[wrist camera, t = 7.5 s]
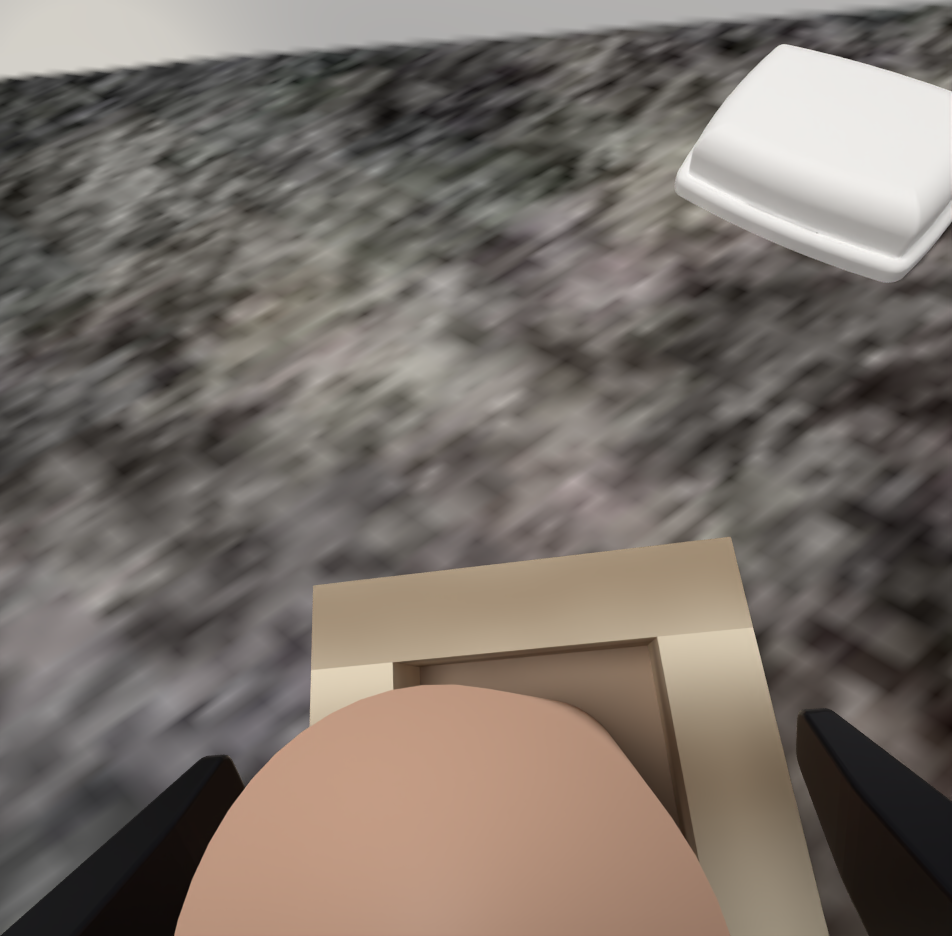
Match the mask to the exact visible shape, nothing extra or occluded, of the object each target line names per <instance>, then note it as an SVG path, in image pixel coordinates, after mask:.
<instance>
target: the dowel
mask: <svg viewBox="0 0 952 936" xmlns="http://www.w3.org/2000/svg"><path fill="white" fill-rule="evenodd" d="M174 936H731V935H730V933H729V930H728V927H727V925H726V922H725V919H724V916H723V914H722V911H721V908H720V905H719V903H718V900H717V898H716V896H715V894H714V892H713V890H712V888H711V886H710V884H709V881H708V879H707V877H706V875H705V873H704V871H703V869H702V867H701V865H700V863H699V861H698V859H697V857H696V855H695V854H694V852H693V850H692V849H691V847H690V846H689V844H688V843H687V841H686V839H685V838H684V836H683V835H682V833H681V831H680V830H679V828H678V827H677V825H676V824H675V822H674V820H673V819H672V817H671V816H670V814H669V813H668V812H667V810H666V809H665V808H664V806H663V805H662V804H661V802H660V801H659V800H658V798H657V797H656V796H655V794H654V793H653V792H652V790H651V789H650V788H649V786H648V785H647V784H646V782H645V781H644V780H643V778H642V777H641V776H640V774H639V773H638V772H637V770H636V769H635V767H634V766H633V765H632V763H631V762H630V761H629V759H628V758H627V757H626V755H625V754H624V753H623V751H622V750H621V749H620V747H619V746H618V745H617V743H616V742H615V741H614V739H613V738H612V737H611V735H610V734H609V733H608V732H607V730H606V729H605V728H604V727H603V726H602V725H601V724H600V723H599V722H598V721H597V720H596V719H594V718H593V717H592V716H590V715H589V714H588V713H586V712H584V711H583V710H581V709H579V708H577V707H575V706H572V705H570V704H567V703H564V702H560V701H555V700H550V699H544V698H538V697H533V696H527V695H521V694H515V693H510V692H504V691H498V690H493V689H487V688H479V687H471V686H463V685H455V684H454V685H420V686H414V687H407V688H401V689H395V690H390V691H387V692H383V693H380V694H377V695H374V696H371V697H367V698H364V699H361V700H358V701H356V702H354V703H352V704H350V705H348V706H346V707H344V708H341V709H339V710H337V711H335V712H333V713H331V714H329V715H328V716H326V717H324V718H323V719H321V720H320V721H318V722H317V723H315V724H314V725H312V726H310V727H309V728H307V729H306V730H304V731H303V732H301V733H300V734H299V735H298V736H297V737H295V738H294V739H293V740H292V741H291V742H289V743H288V744H287V745H286V746H285V747H283V748H282V749H281V750H280V751H279V752H277V753H276V754H275V755H274V756H273V757H272V758H271V759H270V761H269V762H268V763H267V764H266V765H265V766H264V767H263V768H262V769H261V770H260V771H259V772H258V773H257V774H256V775H255V776H254V777H253V779H252V780H251V781H250V782H249V784H248V785H247V786H246V788H245V789H244V790H243V792H242V793H241V794H240V796H239V797H238V798H237V800H236V801H235V802H234V804H233V805H232V806H231V808H230V809H229V810H228V812H227V814H226V815H225V817H224V819H223V820H222V822H221V824H220V826H219V827H218V829H217V831H216V832H215V834H214V836H213V837H212V839H211V841H210V842H209V844H208V847H207V849H206V851H205V853H204V855H203V857H202V859H201V862H200V864H199V866H198V868H197V870H196V872H195V874H194V877H193V879H192V881H191V884H190V887H189V890H188V893H187V896H186V899H185V901H184V904H183V907H182V910H181V913H180V916H179V919H178V922H177V926H176V930H175V934H174Z"/></svg>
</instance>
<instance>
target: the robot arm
mask: <svg viewBox="0 0 952 936" xmlns="http://www.w3.org/2000/svg"><path fill="white" fill-rule="evenodd" d="M796 754H797V760H798V764H799V767H800V770H801V772H802V775H803V778H804V780H805V783H806V786H807V788H808V791H809V794H810V796H811V799H812V802H813V805H814V807H815V810H816V813H817V815H818V818H819V821H820V823H821V826H822V829H823V831H824V834H825V837H826V839H827V842H828V845H829V847H830V850H831V853H832V855H833V858H834V861H835V863H836V866H837V868H838V871H839V873H840V876H841V878H842V881H843V883H844V885H845V887H846V889H847V892H848V894H849V896H850V898H851V900H852V902H853V904H854V906H855V908H856V910H857V912H858V914H859V916H860V919H861V921H862V923H863V925H864V927H865V929H866V931H867V933H868V935H869V936H952V801H951V800H949V799H948V798H947V797H945V796H944V795H943V794H941V793H940V792H939V791H937V790H936V789H935V788H933V787H932V786H931V785H930V784H928V783H927V782H926V781H924V780H923V779H922V778H920V777H919V776H918V775H916V774H915V773H914V772H912V771H911V770H910V769H909V768H907V767H906V766H905V765H903V764H902V763H901V762H899V761H898V760H897V759H895V758H894V757H893V756H891V755H890V754H889V753H888V752H886V751H885V750H884V749H882V748H881V747H880V746H878V745H877V744H876V743H874V742H873V741H872V740H870V739H869V738H868V737H867V736H865V735H864V734H863V733H861V732H860V731H859V730H857V729H856V728H855V727H853V726H852V725H851V724H849V723H848V722H847V721H846V720H844V719H843V718H842V717H840V716H839V715H838V714H836V713H835V712H834V711H832V710H830V709H826V708H821V709H808V710H802V711H800V712H799V714H798V717H797V739H796ZM244 789H245V786H244V784H243V782H242V780H241V778H240V775H239V773H238V771H237V769H236V767H235V765H234V763H233V761H232V759H231V758H230V757H229V756H228V755H213V756H206V757H203V758H201V759H200V760H199V761H198V762H196V763H195V764H194V765H193V766H192V767H191V768H190V769H188V770H187V771H186V772H185V773H184V774H183V775H182V776H181V777H179V778H178V779H177V780H176V781H175V782H174V783H173V784H171V785H170V786H169V787H168V788H167V789H166V790H165V791H164V792H162V793H161V794H160V795H159V796H158V797H157V798H156V799H155V800H153V801H152V802H151V803H150V804H149V805H148V806H147V807H145V808H144V809H143V810H142V811H141V812H140V813H139V814H138V815H136V816H135V817H134V818H133V819H132V820H131V821H130V822H129V823H127V824H126V825H125V826H124V827H123V828H122V829H121V830H119V831H118V832H117V833H116V834H115V835H114V836H113V837H112V838H110V839H109V840H108V841H107V842H106V843H105V844H104V845H103V846H101V847H100V848H99V849H98V850H97V851H96V852H95V853H93V854H92V855H91V856H90V857H89V858H88V859H87V860H86V861H84V862H83V863H82V864H81V865H80V866H79V867H78V868H76V869H75V870H74V871H73V872H72V873H71V874H70V875H69V876H67V877H66V878H65V879H64V880H63V881H62V882H61V883H60V884H58V885H57V886H56V887H55V888H54V889H53V890H52V891H50V892H49V893H48V894H47V895H46V896H45V897H44V898H43V899H41V900H40V901H39V902H38V903H37V904H36V905H35V906H33V907H32V908H31V909H30V910H29V911H28V912H27V913H26V914H24V915H23V916H22V917H21V918H20V919H19V920H18V921H16V922H15V923H14V924H13V925H12V926H11V927H10V928H9V929H7V930H6V931H5V932H4V933H3V934H2V935H1V936H174V934H175V930H176V926H177V922H178V919H179V916H180V913H181V910H182V907H183V904H184V901H185V899H186V896H187V893H188V890H189V887H190V884H191V881H192V879H193V877H194V874H195V872H196V870H197V868H198V866H199V864H200V862H201V859H202V857H203V855H204V853H205V851H206V849H207V847H208V844H209V842H210V841H211V839H212V837H213V836H214V834H215V832H216V831H217V829H218V827H219V826H220V824H221V822H222V820H223V819H224V817H225V815H226V814H227V812H228V810H229V809H230V808H231V806H232V805H233V804H234V802H235V801H236V800H237V798H238V797H239V796H240V794H241V793H242V792H243V790H244Z"/></svg>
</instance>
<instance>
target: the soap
mask: <svg viewBox="0 0 952 936" xmlns="http://www.w3.org/2000/svg"><path fill="white" fill-rule="evenodd" d="M675 191H676V193H677V194H678V195H679V196H681V197H683V198H684V199H686V200H688V201H690V202H692V203H694V204H695V205H697V206H699V207H701V208H703V209H704V210H706V211H708V212H710V213H712V214H714V215H716V216H718V217H720V218H722V219H724V220H726V221H728V222H730V223H732V224H734V225H736V226H738V227H741V228H743V229H745V230H747V231H749V232H751V233H753V234H755V235H758V236H760V237H762V238H765V239H767V240H769V241H772V242H774V243H776V244H779V245H781V246H783V247H786V248H788V249H791V250H793V251H796V252H798V253H801V254H803V255H806V256H808V257H811V258H813V259H816V260H819V261H822V262H824V263H827V264H830V265H833V266H835V267H838V268H841V269H844V270H846V271H849V272H853V273H856V274H859V275H862V276H865V277H868V278H871V279H874V280H877V281H880V282H884V283H891V282H896V281H898V280H900V279H902V278H903V277H904V276H905V275H906V274H907V273H908V272H909V271H910V270H911V269H912V268H913V267H914V266H915V265H916V264H917V263H918V262H919V261H920V260H921V259H922V258H923V257H924V255H925V254H926V253H927V252H928V251H929V250H930V249H931V248H932V246H933V245H934V244H935V243H936V241H937V240H938V239H939V238H940V236H941V235H942V234H943V232H944V231H945V230H946V228H947V227H948V226H949V225H950V223H951V222H952V92H951V91H949V90H946V89H943V88H940V87H937V86H935V85H932V84H929V83H926V82H923V81H919V80H916V79H913V78H910V77H907V76H904V75H901V74H898V73H894V72H891V71H888V70H884V69H881V68H878V67H874V66H871V65H867V64H864V63H860V62H856V61H853V60H849V59H845V58H842V57H838V56H834V55H830V54H826V53H821V52H817V51H813V50H809V49H805V48H800V47H796V46H791V45H786V44H782V45H779V46H778V47H776V48H775V49H774V50H773V51H772V52H771V53H770V54H769V55H767V56H766V57H765V58H764V59H763V60H762V61H761V62H760V63H759V64H758V65H757V66H756V67H755V68H754V69H753V70H752V71H751V72H750V73H749V74H748V75H747V76H746V77H745V78H744V79H743V80H742V81H741V82H740V84H739V85H738V86H737V87H736V88H735V89H734V91H733V92H732V93H731V94H730V95H729V96H728V98H727V99H726V100H725V101H724V103H723V104H722V105H721V107H720V108H719V109H718V111H717V112H716V113H715V115H714V116H713V118H712V119H711V121H710V122H709V123H708V125H707V126H706V128H705V130H704V131H703V133H702V134H701V136H700V138H699V139H698V141H697V142H696V144H695V145H694V147H693V148H692V150H691V151H690V153H689V154H688V156H687V157H686V159H685V161H684V162H683V164H682V166H681V167H680V169H679V171H678V173H677V176H676V181H675Z"/></svg>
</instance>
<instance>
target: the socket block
mask: <svg viewBox="0 0 952 936" xmlns="http://www.w3.org/2000/svg"><path fill="white" fill-rule="evenodd" d="M454 684H455V685H463V686H471V687H479V688H487V689H493V690H498V691H504V692H510V693H515V694H521V695H527V696H533V697H538V698H544V699H550V700H555V701H560V702H564V703H567V704H570V705H572V706H575V707H577V708H579V709H581V710H583V711H584V712H586V713H588V714H589V715H590V716H592V717H593V718H594V719H596V720H597V721H598V722H599V723H600V724H601V725H602V726H603V727H604V728H605V729H606V730H607V732H608V733H609V734H610V735H611V737H612V738H613V739H614V741H615V742H616V743H617V745H618V746H619V747H620V749H621V750H622V751H623V753H624V754H625V755H626V757H627V758H628V759H629V761H630V762H631V763H632V765H633V766H634V767H635V769H636V770H637V772H638V773H639V774H640V776H641V777H642V778H643V780H644V781H645V782H646V784H647V785H648V786H649V788H650V789H651V790H652V792H653V793H654V794H655V796H656V797H657V798H658V800H659V801H660V802H661V804H662V805H663V806H664V808H665V809H666V810H667V812H668V813H669V814H670V816H671V817H672V819H673V820H674V822H675V824H676V825H677V827H678V828H679V830H680V831H681V833H682V835H683V836H684V838H685V839H686V841H687V843H688V844H689V846H690V847H691V849H692V850H693V852H694V854H695V855H696V857H697V859H698V861H699V863H700V865H701V867H702V869H703V871H704V873H705V875H706V877H707V879H708V881H709V884H710V886H711V888H712V890H713V892H714V894H715V896H716V898H717V900H718V903H719V905H720V908H721V911H722V914H723V916H724V919H725V922H726V925H727V927H728V930H729V933H730V935H731V936H829V934H828V930H827V926H826V922H825V918H824V913H823V909H822V905H821V901H820V897H819V893H818V889H817V885H816V881H815V877H814V873H813V869H812V865H811V861H810V857H809V853H808V849H807V844H806V840H805V836H804V832H803V828H802V824H801V820H800V816H799V812H798V808H797V804H796V800H795V796H794V792H793V788H792V784H791V780H790V775H789V771H788V767H787V763H786V759H785V755H784V751H783V747H782V743H781V739H780V735H779V731H778V727H777V723H776V719H775V715H774V711H773V706H772V702H771V698H770V694H769V690H768V686H767V682H766V678H765V674H764V670H763V666H762V662H761V658H760V654H759V650H758V646H757V641H756V637H755V633H754V629H753V625H752V621H751V617H750V613H749V609H748V605H747V601H746V597H745V593H744V589H743V585H742V581H741V577H740V572H739V568H738V564H737V560H736V556H735V552H734V548H733V544H732V540H731V537H725V538H716V539H708V540H699V541H690V542H682V543H673V544H665V545H656V546H648V547H639V548H631V549H622V550H614V551H605V552H597V553H588V554H579V555H571V556H562V557H554V558H545V559H537V560H528V561H520V562H511V563H503V564H494V565H486V566H477V567H468V568H460V569H451V570H443V571H434V572H426V573H417V574H409V575H400V576H392V577H383V578H375V579H366V580H357V581H349V582H340V583H332V584H323V585H315V586H313V617H312V658H311V698H310V726H312V725H314V724H315V723H317V722H318V721H320V720H321V719H323V718H324V717H326V716H328V715H329V714H331V713H333V712H335V711H337V710H339V709H341V708H344V707H346V706H348V705H350V704H352V703H354V702H356V701H358V700H361V699H364V698H367V697H371V696H374V695H377V694H380V693H383V692H387V691H390V690H395V689H401V688H407V687H414V686H420V685H454Z"/></svg>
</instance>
